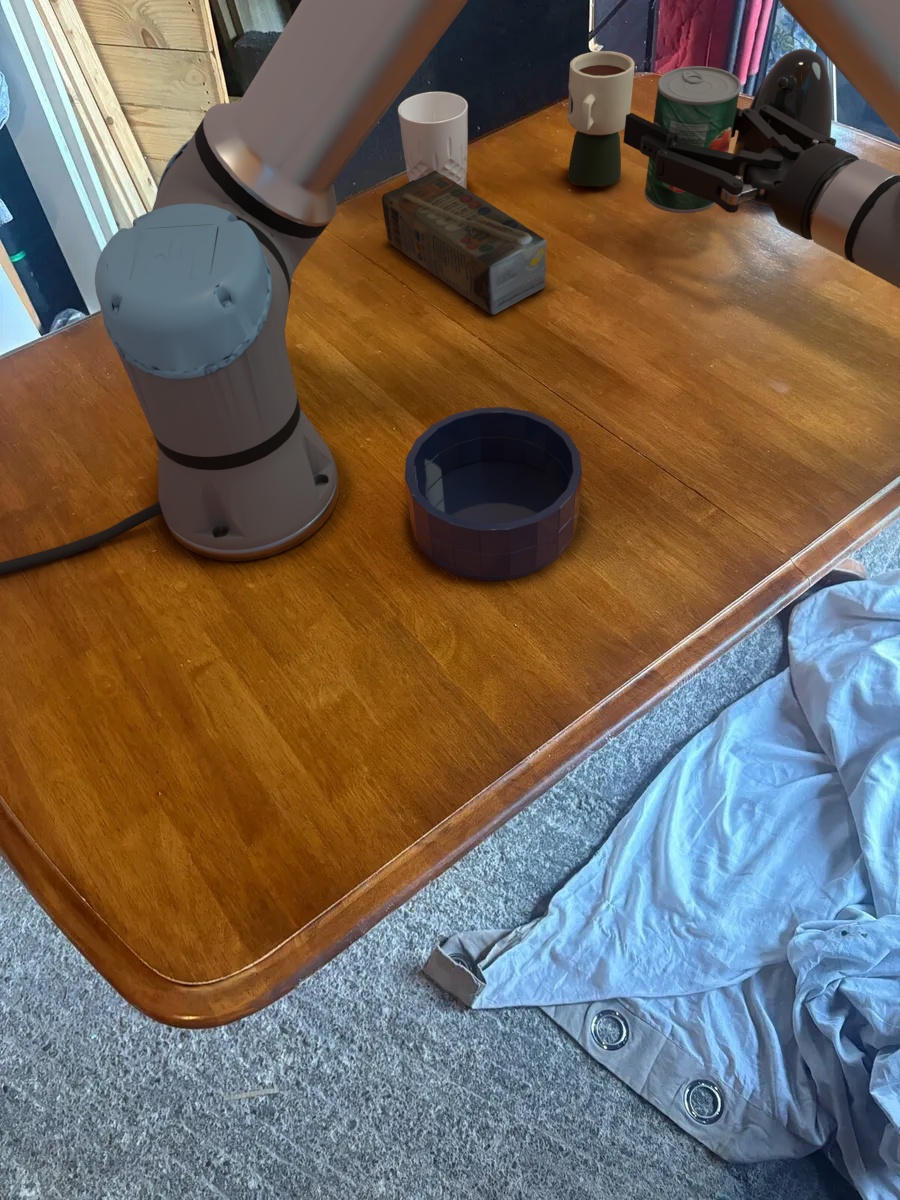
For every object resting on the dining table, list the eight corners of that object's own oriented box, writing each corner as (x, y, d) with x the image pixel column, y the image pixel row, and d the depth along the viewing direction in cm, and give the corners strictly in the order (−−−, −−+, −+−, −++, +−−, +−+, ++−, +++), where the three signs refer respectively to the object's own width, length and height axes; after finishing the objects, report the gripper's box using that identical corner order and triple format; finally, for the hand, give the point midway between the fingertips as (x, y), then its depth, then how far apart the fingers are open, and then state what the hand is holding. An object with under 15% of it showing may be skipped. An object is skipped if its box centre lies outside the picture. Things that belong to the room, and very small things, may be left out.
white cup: (464, 212, 105) (460, 124, 97) (399, 208, 106) (390, 121, 98) (476, 178, 110) (473, 92, 102) (414, 175, 111) (406, 90, 103)
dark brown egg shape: (710, 204, 103) (735, 60, 91) (746, 165, 108) (775, 24, 96) (795, 226, 99) (834, 80, 87) (829, 185, 104) (870, 41, 92)
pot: (476, 609, 69) (473, 558, 64) (380, 507, 76) (371, 455, 71) (611, 527, 73) (618, 474, 68) (509, 438, 80) (508, 385, 76)
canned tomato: (730, 208, 92) (753, 95, 84) (656, 218, 92) (672, 105, 83) (705, 171, 97) (724, 61, 88) (635, 180, 97) (647, 71, 88)
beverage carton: (489, 320, 91) (488, 261, 86) (383, 245, 101) (376, 189, 96) (548, 290, 94) (550, 231, 89) (439, 220, 104) (435, 164, 99)
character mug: (580, 155, 112) (586, 40, 101) (635, 163, 110) (647, 47, 99) (550, 197, 106) (554, 80, 96) (608, 207, 104) (618, 88, 93)
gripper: (745, 280, 80) (579, 183, 92) (896, 202, 86) (723, 121, 98) (764, 199, 74) (584, 106, 86) (925, 122, 80) (736, 46, 92)
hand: (658, 115), depth 92 cm, fingers closed on canned tomato, 8 cm apart
